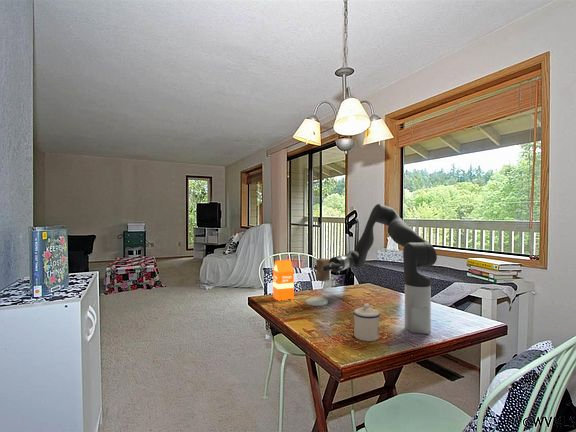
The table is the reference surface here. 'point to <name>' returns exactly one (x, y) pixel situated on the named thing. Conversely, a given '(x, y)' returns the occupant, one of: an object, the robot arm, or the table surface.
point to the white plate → (316, 301)
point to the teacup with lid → (366, 323)
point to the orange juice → (283, 280)
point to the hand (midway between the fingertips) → (319, 268)
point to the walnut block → (320, 273)
